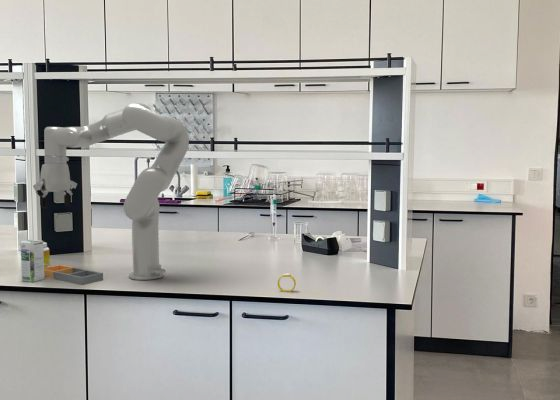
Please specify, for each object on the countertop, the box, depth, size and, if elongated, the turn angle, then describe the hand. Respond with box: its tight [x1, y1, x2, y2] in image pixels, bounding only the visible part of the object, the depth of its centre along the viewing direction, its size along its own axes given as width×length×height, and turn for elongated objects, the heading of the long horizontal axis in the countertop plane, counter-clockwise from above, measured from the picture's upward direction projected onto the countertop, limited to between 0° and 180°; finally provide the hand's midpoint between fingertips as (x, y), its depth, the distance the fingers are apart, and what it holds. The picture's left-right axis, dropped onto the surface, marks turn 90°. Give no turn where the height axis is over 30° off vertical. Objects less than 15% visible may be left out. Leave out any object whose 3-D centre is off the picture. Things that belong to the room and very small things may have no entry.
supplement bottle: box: [43, 241, 51, 268], centre depth 243 cm, size 6×6×10 cm
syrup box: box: [20, 239, 46, 283], centre depth 224 cm, size 6×6×14 cm
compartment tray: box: [44, 264, 104, 285], centre depth 228 cm, size 26×9×2 cm, turn 54°
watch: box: [277, 272, 297, 293], centre depth 207 cm, size 6×3×6 cm, turn 79°
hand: (55, 206), depth 229 cm, fingers open, 9 cm apart
